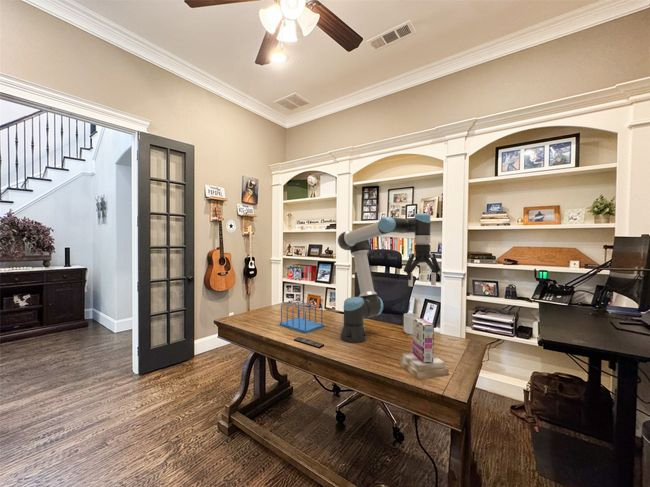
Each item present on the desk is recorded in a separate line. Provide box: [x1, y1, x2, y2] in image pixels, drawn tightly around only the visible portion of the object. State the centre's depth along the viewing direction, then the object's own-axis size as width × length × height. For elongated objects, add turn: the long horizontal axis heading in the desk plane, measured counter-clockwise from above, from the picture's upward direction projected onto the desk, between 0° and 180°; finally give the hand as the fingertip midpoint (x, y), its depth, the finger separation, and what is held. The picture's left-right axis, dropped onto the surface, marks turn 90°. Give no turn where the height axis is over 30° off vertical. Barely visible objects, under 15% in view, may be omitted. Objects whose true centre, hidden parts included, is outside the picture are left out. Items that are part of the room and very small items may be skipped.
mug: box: [403, 312, 419, 336], centre depth 172 cm, size 12×9×11 cm
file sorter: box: [279, 299, 325, 334], centre depth 183 cm, size 25×17×15 cm
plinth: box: [398, 351, 450, 380], centre depth 122 cm, size 15×15×5 cm
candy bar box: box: [412, 317, 435, 363], centre depth 122 cm, size 11×5×16 cm, turn 5°
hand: (422, 285), depth 139 cm, fingers open, 13 cm apart
